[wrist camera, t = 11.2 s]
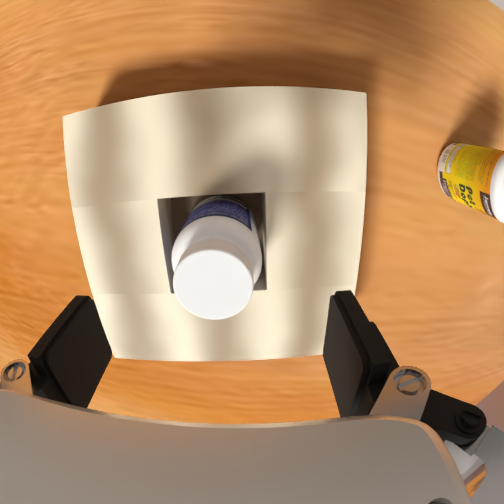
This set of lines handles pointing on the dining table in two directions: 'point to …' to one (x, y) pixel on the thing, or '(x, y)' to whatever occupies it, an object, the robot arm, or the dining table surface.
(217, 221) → the pill bottle
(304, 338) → the socket block
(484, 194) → the supplement bottle
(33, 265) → the dining table surface
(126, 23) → the dining table surface
